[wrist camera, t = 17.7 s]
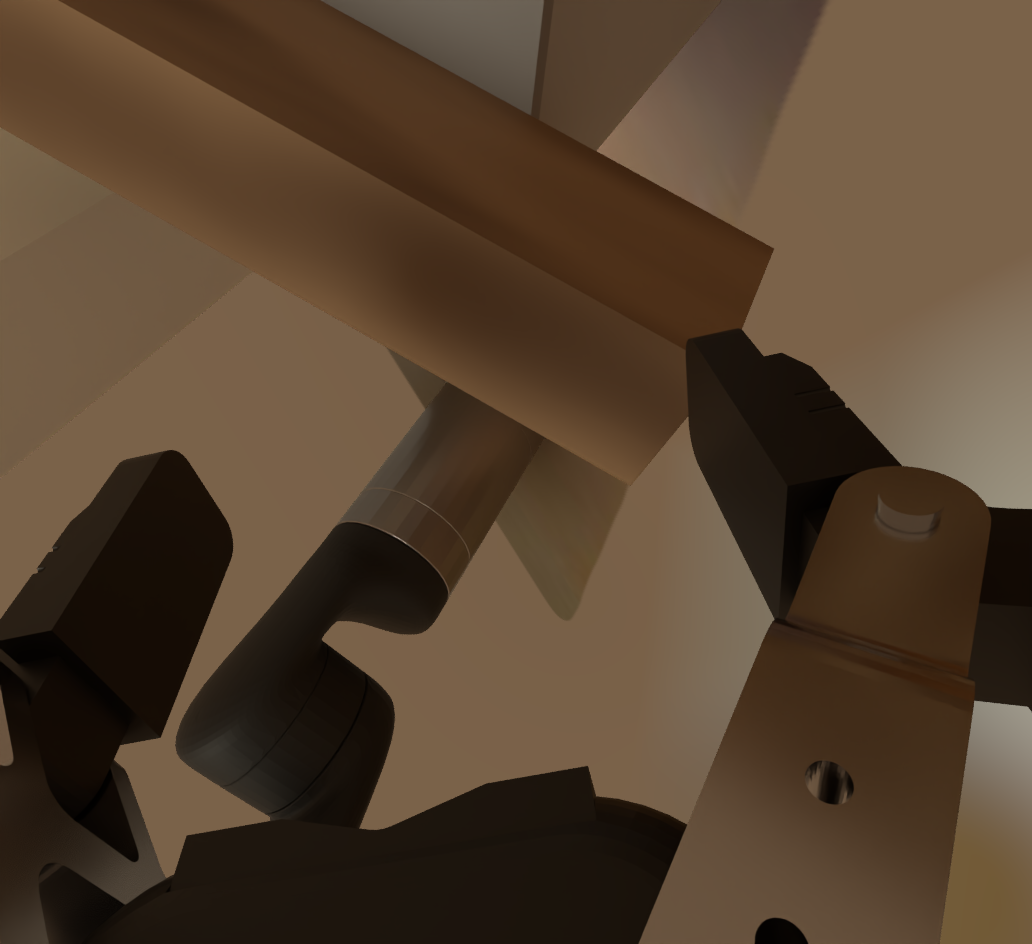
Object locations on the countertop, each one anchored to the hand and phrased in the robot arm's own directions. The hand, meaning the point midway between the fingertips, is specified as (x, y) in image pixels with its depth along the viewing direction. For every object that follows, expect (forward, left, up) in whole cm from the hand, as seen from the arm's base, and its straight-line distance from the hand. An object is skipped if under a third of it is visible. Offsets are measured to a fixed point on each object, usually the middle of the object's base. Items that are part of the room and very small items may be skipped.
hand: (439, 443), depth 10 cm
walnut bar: (+1, +8, -7) cm, 10 cm away
